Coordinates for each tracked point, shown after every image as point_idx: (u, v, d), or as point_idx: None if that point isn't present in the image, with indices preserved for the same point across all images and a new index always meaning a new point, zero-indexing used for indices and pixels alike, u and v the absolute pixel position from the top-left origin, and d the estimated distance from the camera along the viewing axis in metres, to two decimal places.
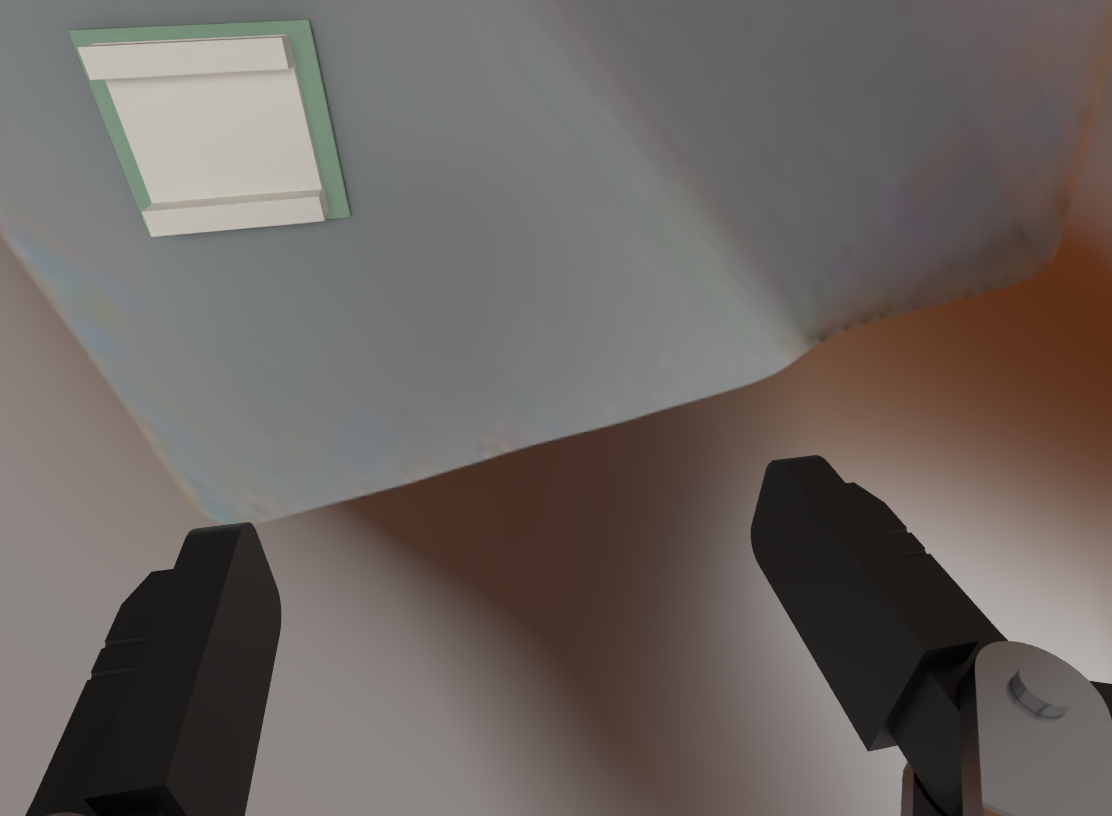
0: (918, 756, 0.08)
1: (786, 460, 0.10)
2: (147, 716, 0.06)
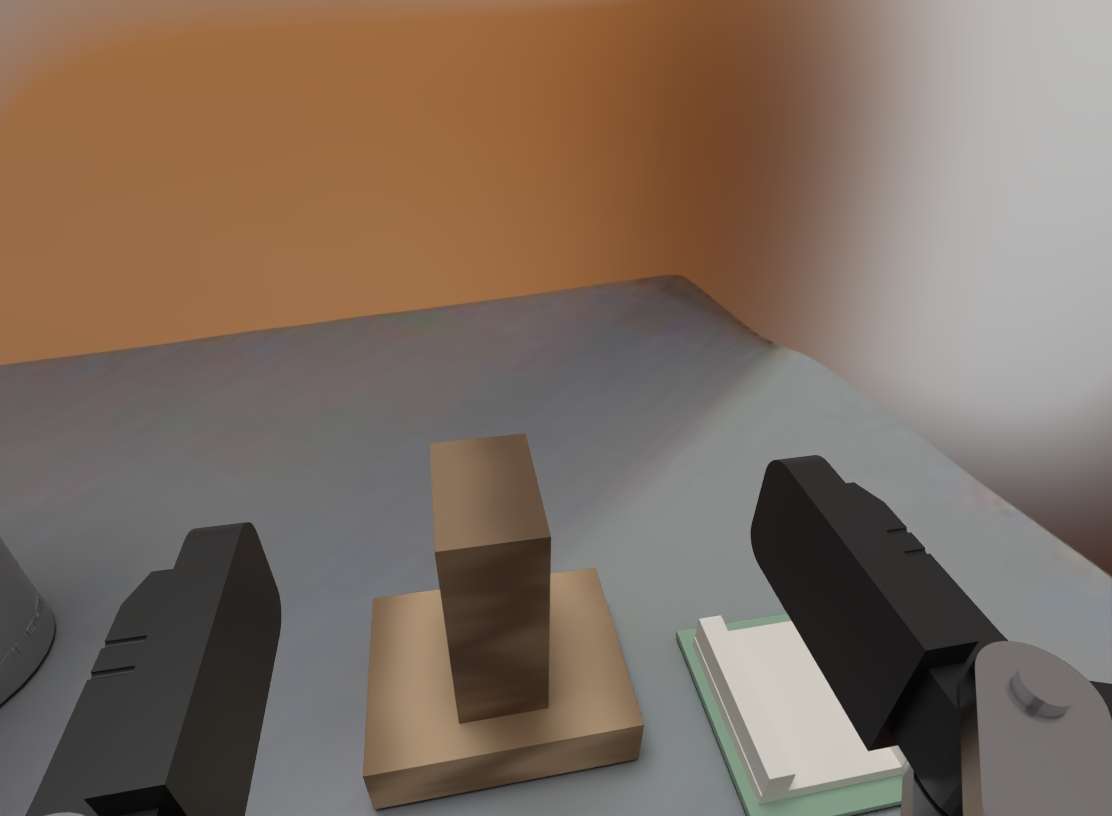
0: (918, 756, 0.08)
1: (786, 460, 0.10)
2: (148, 716, 0.06)
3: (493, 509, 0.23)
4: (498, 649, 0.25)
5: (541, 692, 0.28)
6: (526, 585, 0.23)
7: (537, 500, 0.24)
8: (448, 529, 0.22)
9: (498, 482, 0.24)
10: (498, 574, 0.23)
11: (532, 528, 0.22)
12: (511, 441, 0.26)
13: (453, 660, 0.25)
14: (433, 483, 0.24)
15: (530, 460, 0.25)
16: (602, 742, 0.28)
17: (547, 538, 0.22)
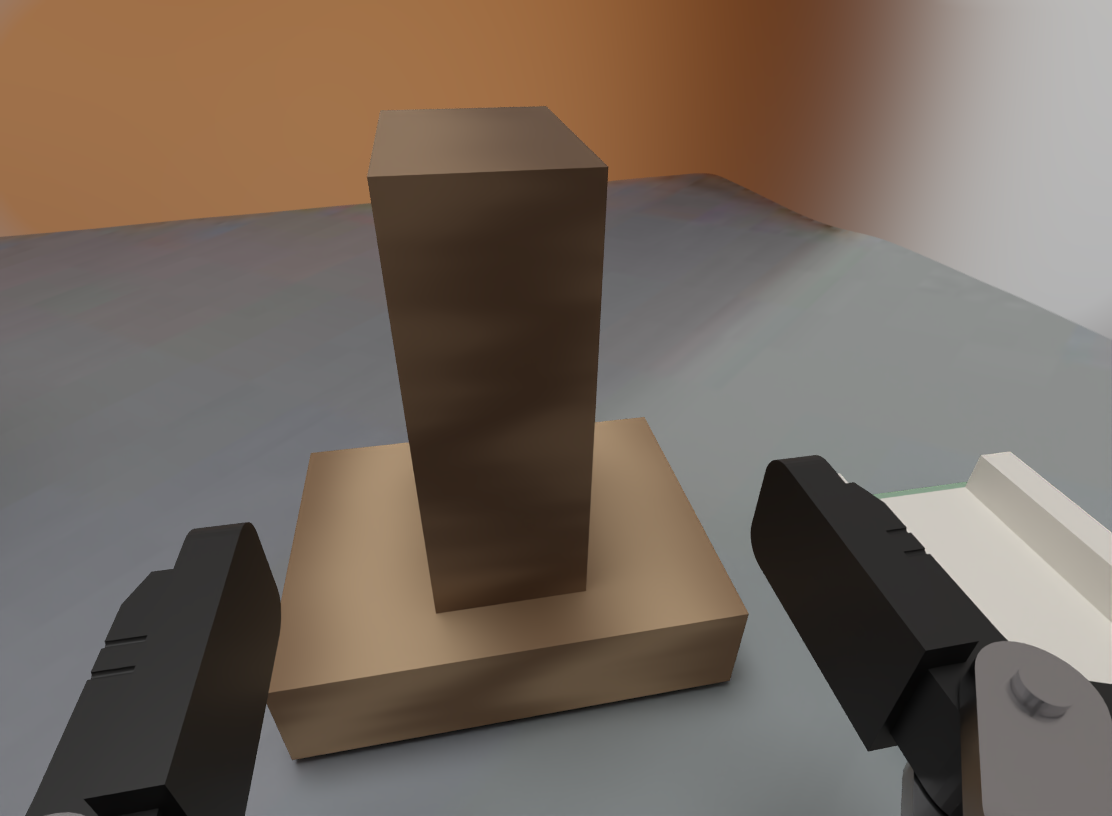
0: (918, 756, 0.08)
1: (786, 460, 0.10)
2: (148, 716, 0.06)
3: (492, 148, 0.12)
4: (502, 455, 0.14)
5: (575, 557, 0.16)
6: (555, 298, 0.12)
7: (575, 143, 0.12)
8: (400, 160, 0.11)
9: (501, 132, 0.13)
10: (500, 262, 0.11)
11: (570, 161, 0.11)
12: (521, 110, 0.15)
13: (420, 473, 0.14)
14: (379, 131, 0.13)
15: (557, 119, 0.14)
16: (677, 645, 0.17)
17: (601, 170, 0.11)
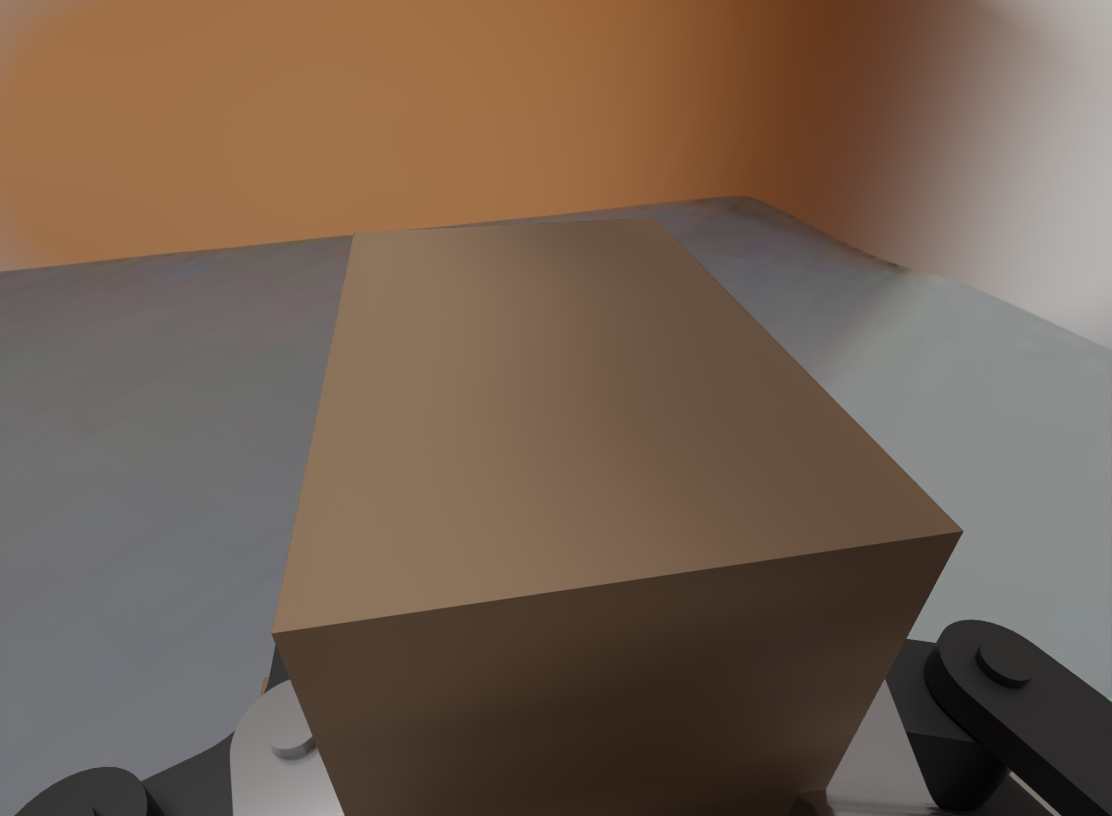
0: None
1: None
2: None
3: (605, 404, 0.05)
4: None
5: None
6: (751, 756, 0.05)
7: (788, 374, 0.05)
8: (381, 491, 0.04)
9: (603, 320, 0.06)
10: (638, 727, 0.04)
11: (837, 487, 0.04)
12: (615, 230, 0.08)
13: None
14: (342, 321, 0.06)
15: (699, 266, 0.07)
16: None
17: (942, 540, 0.04)
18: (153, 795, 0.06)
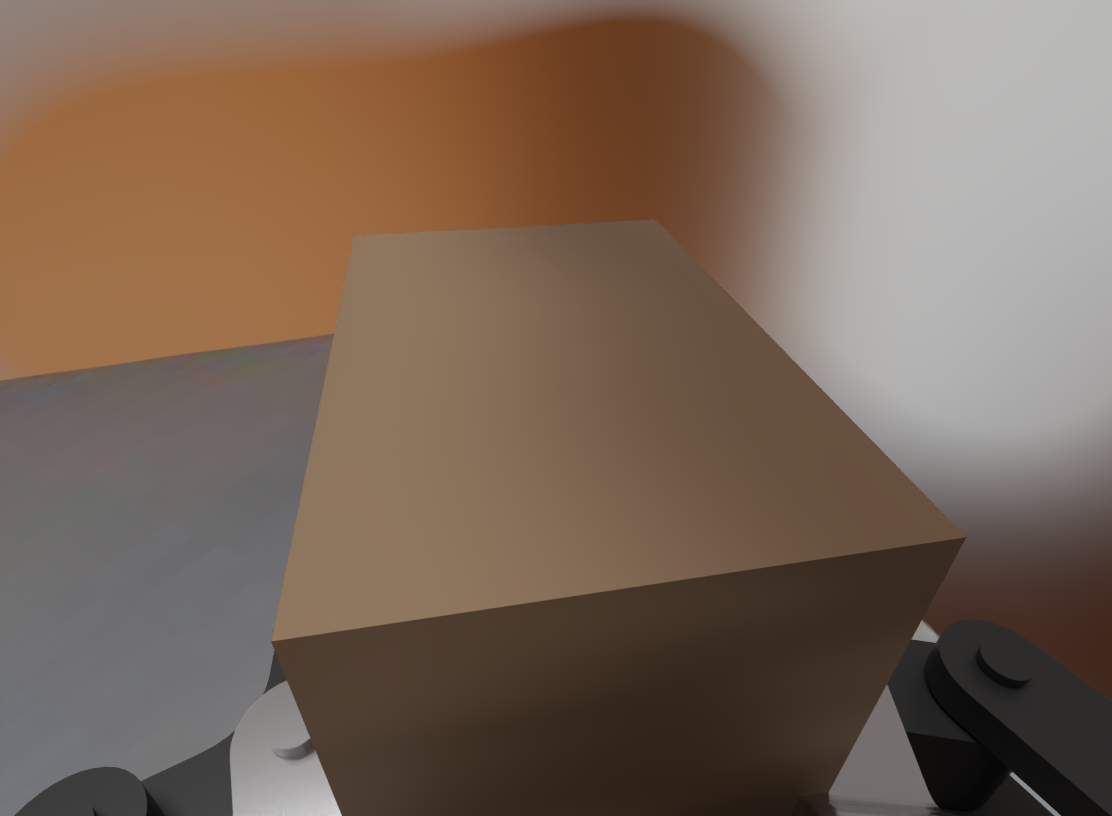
0: None
1: None
2: None
3: (606, 409, 0.05)
4: None
5: None
6: (753, 762, 0.05)
7: (789, 378, 0.05)
8: (382, 496, 0.04)
9: (604, 324, 0.06)
10: (640, 732, 0.04)
11: (836, 493, 0.04)
12: (615, 232, 0.08)
13: None
14: (342, 324, 0.06)
15: (699, 269, 0.07)
16: None
17: (945, 546, 0.04)
18: (153, 795, 0.06)
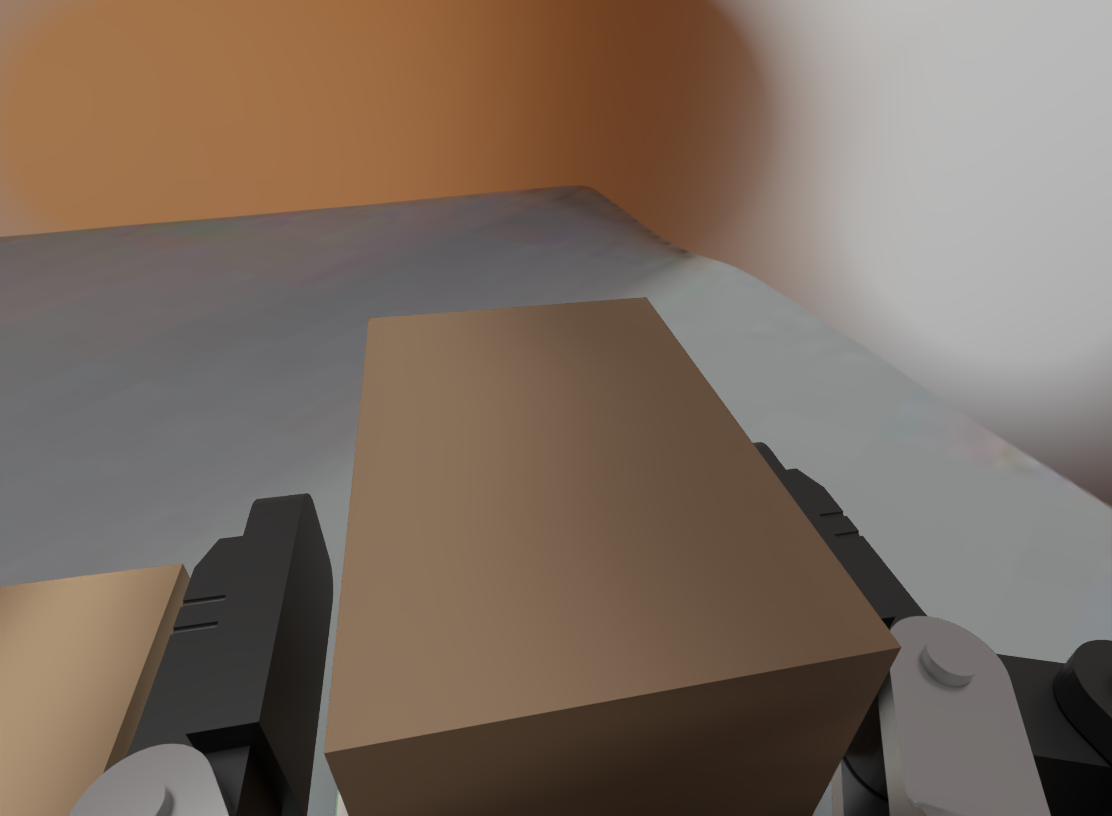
0: None
1: None
2: (235, 663, 0.07)
3: (599, 514, 0.06)
4: None
5: None
6: None
7: (761, 479, 0.06)
8: (409, 610, 0.05)
9: (598, 420, 0.07)
10: (628, 802, 0.05)
11: (796, 602, 0.05)
12: (609, 313, 0.09)
13: None
14: (364, 423, 0.07)
15: (685, 357, 0.08)
16: None
17: (884, 655, 0.05)
18: None
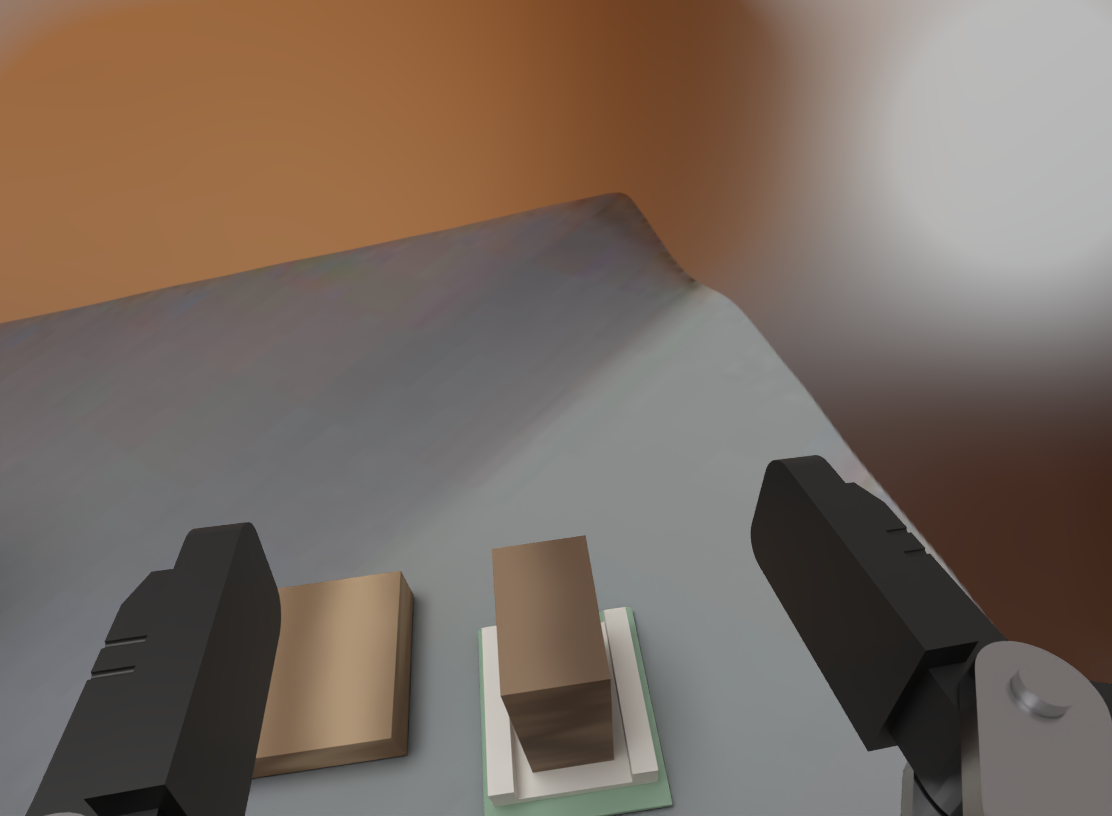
0: (918, 756, 0.08)
1: (786, 460, 0.10)
2: (148, 716, 0.06)
3: (555, 640, 0.24)
4: (565, 736, 0.27)
5: (607, 753, 0.30)
6: (588, 704, 0.24)
7: (597, 629, 0.24)
8: (512, 665, 0.23)
9: (559, 604, 0.25)
10: (561, 701, 0.24)
11: (592, 667, 0.23)
12: (571, 546, 0.27)
13: (524, 744, 0.27)
14: (496, 604, 0.25)
15: (590, 573, 0.26)
16: (358, 748, 0.31)
17: (607, 680, 0.23)
18: None
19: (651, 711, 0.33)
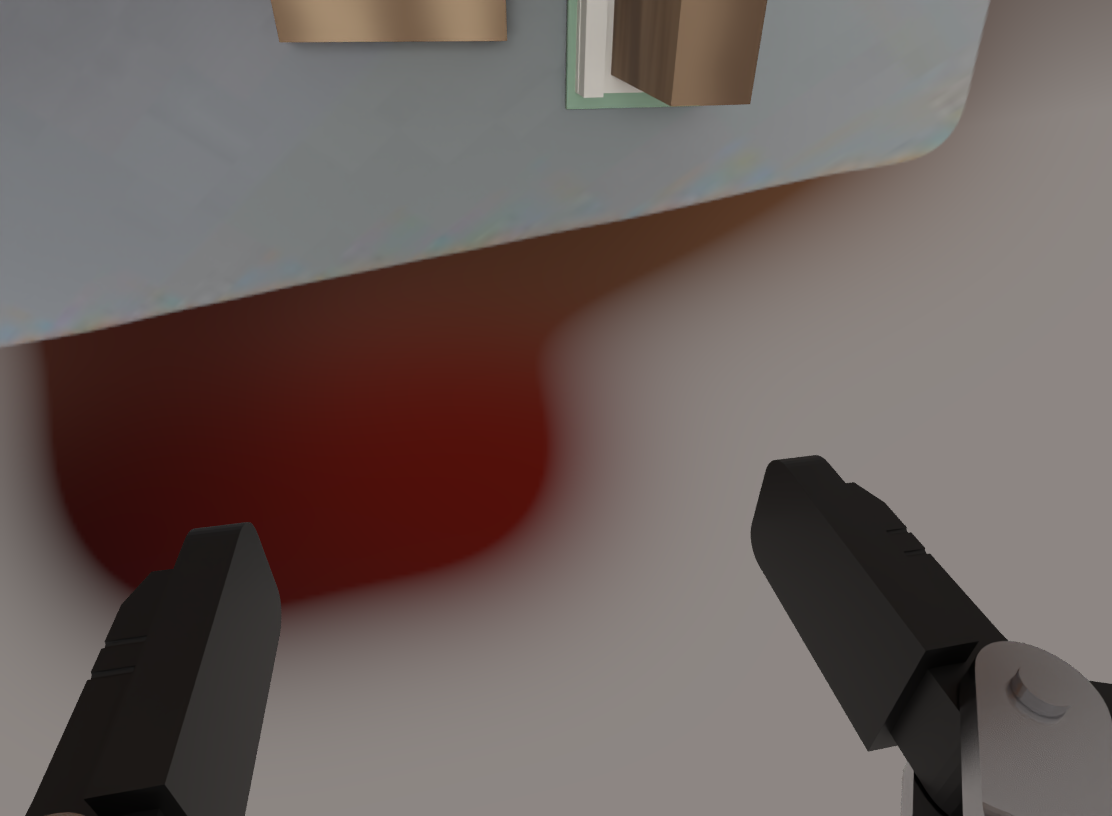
0: (918, 755, 0.08)
1: (786, 460, 0.10)
2: (148, 716, 0.06)
3: (720, 64, 0.29)
4: None
5: None
6: None
7: (754, 59, 0.29)
8: (683, 83, 0.29)
9: (732, 29, 0.28)
10: None
11: (740, 93, 0.30)
12: None
13: (635, 86, 0.35)
14: (681, 20, 0.28)
15: (765, 0, 0.28)
16: None
17: None
18: None
19: None
